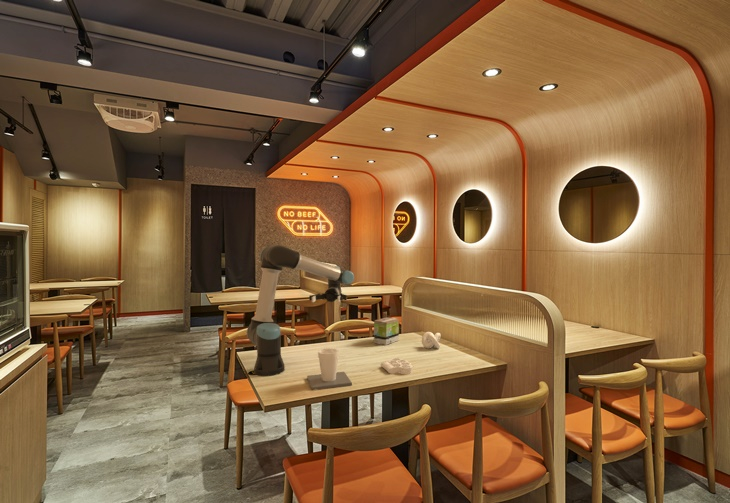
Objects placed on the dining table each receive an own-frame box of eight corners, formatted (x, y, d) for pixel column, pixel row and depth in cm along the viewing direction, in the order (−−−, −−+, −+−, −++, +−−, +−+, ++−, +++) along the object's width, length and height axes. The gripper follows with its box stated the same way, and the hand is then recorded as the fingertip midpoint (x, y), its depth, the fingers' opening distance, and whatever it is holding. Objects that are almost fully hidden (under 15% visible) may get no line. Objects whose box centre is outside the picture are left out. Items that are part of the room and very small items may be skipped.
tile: (311, 390, 167) (311, 387, 167) (307, 378, 182) (307, 375, 182) (351, 385, 172) (351, 382, 172) (344, 374, 187) (344, 371, 187)
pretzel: (420, 349, 229) (420, 334, 228) (423, 344, 240) (423, 330, 240) (439, 350, 225) (439, 335, 225) (441, 345, 237) (441, 331, 237)
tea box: (386, 345, 239) (386, 322, 239) (373, 343, 245) (373, 320, 245) (399, 340, 251) (399, 318, 251) (386, 338, 257) (386, 316, 257)
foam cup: (340, 375, 181) (340, 348, 181) (337, 382, 172) (336, 354, 172) (321, 375, 182) (320, 348, 182) (316, 382, 173) (315, 353, 173)
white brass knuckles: (378, 366, 200) (404, 363, 204) (391, 377, 183) (419, 373, 187) (378, 359, 200) (404, 356, 204) (391, 370, 183) (418, 366, 187)
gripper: (353, 300, 219) (349, 306, 198) (310, 301, 221) (301, 307, 199) (353, 287, 219) (349, 292, 197) (310, 288, 221) (301, 292, 199)
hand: (325, 299), depth 198 cm, fingers open, 13 cm apart
